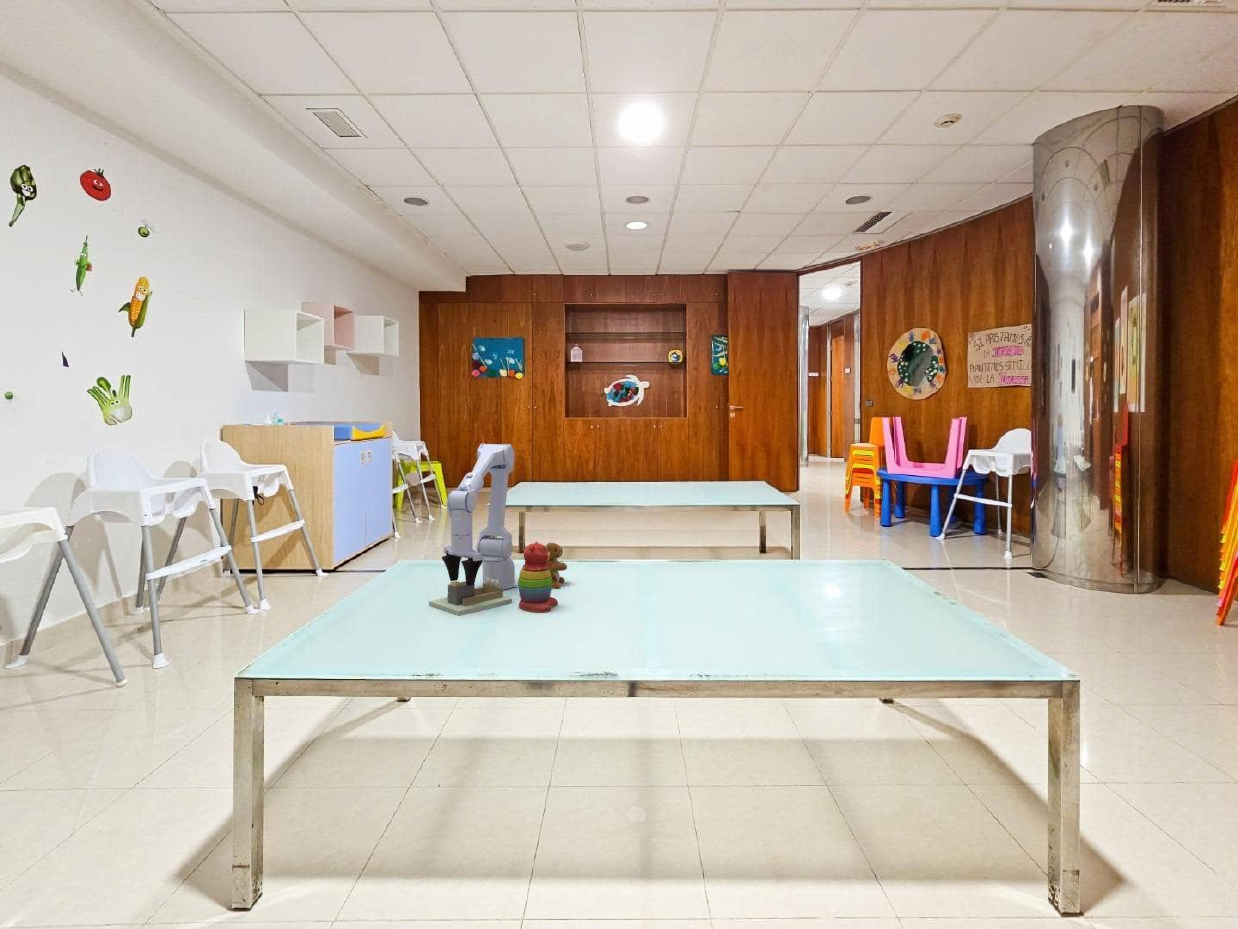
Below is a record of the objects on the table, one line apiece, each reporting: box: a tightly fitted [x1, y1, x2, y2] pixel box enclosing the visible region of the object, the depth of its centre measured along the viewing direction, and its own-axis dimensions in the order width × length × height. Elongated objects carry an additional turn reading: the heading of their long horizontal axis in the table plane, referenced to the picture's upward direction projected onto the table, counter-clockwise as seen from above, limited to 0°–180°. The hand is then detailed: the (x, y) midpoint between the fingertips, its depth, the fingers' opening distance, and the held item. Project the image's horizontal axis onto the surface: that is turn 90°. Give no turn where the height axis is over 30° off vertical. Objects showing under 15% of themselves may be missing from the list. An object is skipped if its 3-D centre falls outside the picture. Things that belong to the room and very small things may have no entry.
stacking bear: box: [517, 541, 559, 613], centre depth 193 cm, size 11×10×18 cm
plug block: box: [447, 580, 476, 605], centre depth 192 cm, size 6×4×6 cm, turn 138°
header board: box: [428, 578, 513, 616], centre depth 195 cm, size 18×14×6 cm
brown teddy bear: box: [524, 542, 568, 590], centre depth 219 cm, size 10×14×13 cm
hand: (462, 582), depth 192 cm, fingers open, 7 cm apart
